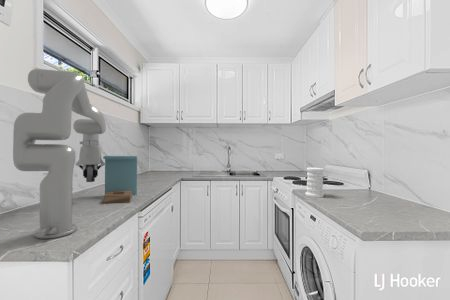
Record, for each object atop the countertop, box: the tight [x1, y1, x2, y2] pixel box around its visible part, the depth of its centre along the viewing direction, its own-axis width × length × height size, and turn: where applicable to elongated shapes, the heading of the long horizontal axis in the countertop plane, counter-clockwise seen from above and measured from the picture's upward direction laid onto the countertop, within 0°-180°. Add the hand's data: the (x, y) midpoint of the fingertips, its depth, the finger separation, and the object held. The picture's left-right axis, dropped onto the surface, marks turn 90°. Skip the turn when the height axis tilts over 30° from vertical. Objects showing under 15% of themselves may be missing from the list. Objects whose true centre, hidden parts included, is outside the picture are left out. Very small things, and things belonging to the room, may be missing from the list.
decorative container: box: [304, 167, 325, 198], centre depth 156 cm, size 12×12×18 cm
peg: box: [85, 165, 96, 183], centre depth 128 cm, size 4×4×10 cm
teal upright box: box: [102, 155, 138, 196], centre depth 142 cm, size 8×18×24 cm, turn 108°
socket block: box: [103, 190, 133, 205], centre depth 133 cm, size 13×13×4 cm
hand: (90, 177), depth 128 cm, fingers closed on peg, 4 cm apart
